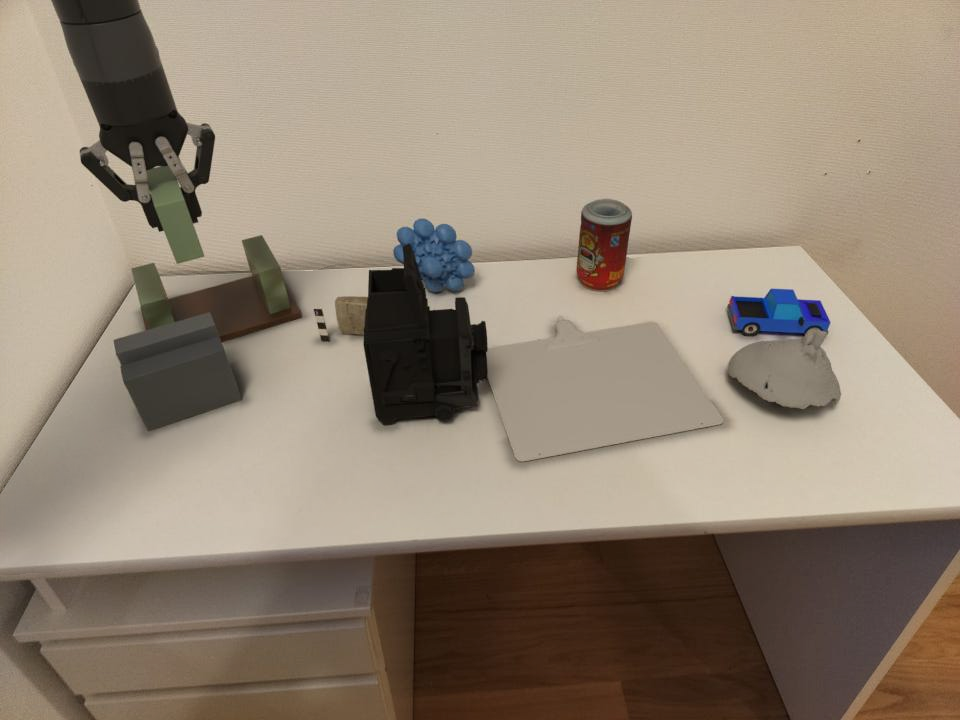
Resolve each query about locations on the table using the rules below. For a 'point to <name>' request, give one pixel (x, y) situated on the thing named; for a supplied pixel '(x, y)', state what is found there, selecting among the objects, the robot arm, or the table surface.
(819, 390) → the grey clay mound
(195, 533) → the table surface
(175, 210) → the green book
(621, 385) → the grey rectangular panel
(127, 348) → the grey grooved block
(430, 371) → the camera
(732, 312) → the toy car
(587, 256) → the soda can
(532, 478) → the table surface
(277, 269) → the book rack
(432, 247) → the grapes
